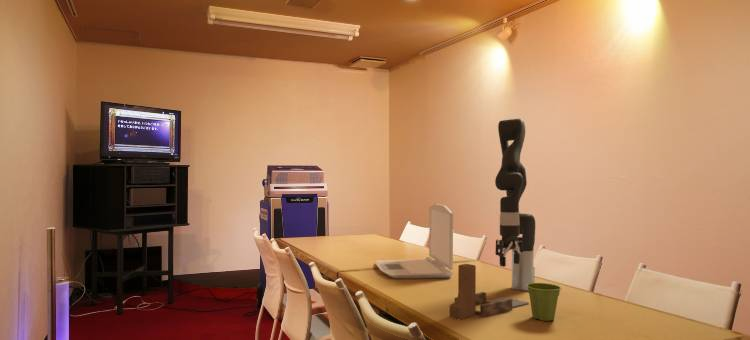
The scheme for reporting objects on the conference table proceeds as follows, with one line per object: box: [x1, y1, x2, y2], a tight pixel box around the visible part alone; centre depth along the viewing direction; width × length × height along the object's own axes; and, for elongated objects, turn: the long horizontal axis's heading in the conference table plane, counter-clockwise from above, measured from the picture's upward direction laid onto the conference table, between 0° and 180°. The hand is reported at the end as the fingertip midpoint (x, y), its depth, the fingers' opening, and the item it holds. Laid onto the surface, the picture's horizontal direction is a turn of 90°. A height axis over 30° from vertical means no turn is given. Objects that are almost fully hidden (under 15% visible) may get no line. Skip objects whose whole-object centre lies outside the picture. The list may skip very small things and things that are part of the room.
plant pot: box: [526, 282, 562, 322], centre depth 174 cm, size 12×12×11 cm
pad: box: [489, 296, 530, 309], centre depth 194 cm, size 10×11×1 cm
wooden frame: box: [454, 291, 513, 318], centre depth 185 cm, size 16×14×4 cm
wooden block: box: [449, 263, 477, 320], centre depth 175 cm, size 9×4×18 cm, turn 128°
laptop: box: [376, 203, 454, 279], centre depth 256 cm, size 42×33×35 cm
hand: (509, 264), depth 194 cm, fingers open, 8 cm apart
